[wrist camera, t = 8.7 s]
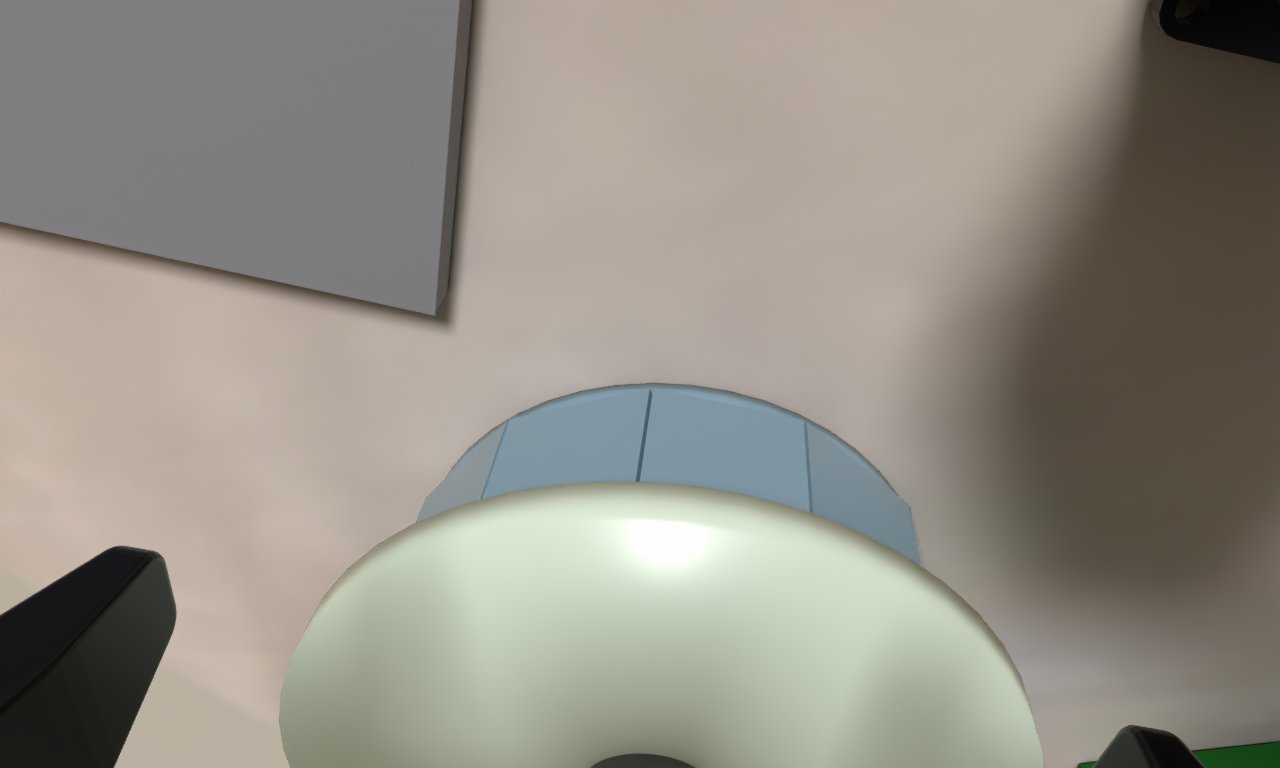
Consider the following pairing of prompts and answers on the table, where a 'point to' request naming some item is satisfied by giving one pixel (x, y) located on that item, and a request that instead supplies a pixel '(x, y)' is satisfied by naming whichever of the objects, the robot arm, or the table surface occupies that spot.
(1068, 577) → the table surface
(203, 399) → the table surface
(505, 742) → the lid
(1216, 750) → the milk carton
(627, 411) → the ring
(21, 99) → the mat
